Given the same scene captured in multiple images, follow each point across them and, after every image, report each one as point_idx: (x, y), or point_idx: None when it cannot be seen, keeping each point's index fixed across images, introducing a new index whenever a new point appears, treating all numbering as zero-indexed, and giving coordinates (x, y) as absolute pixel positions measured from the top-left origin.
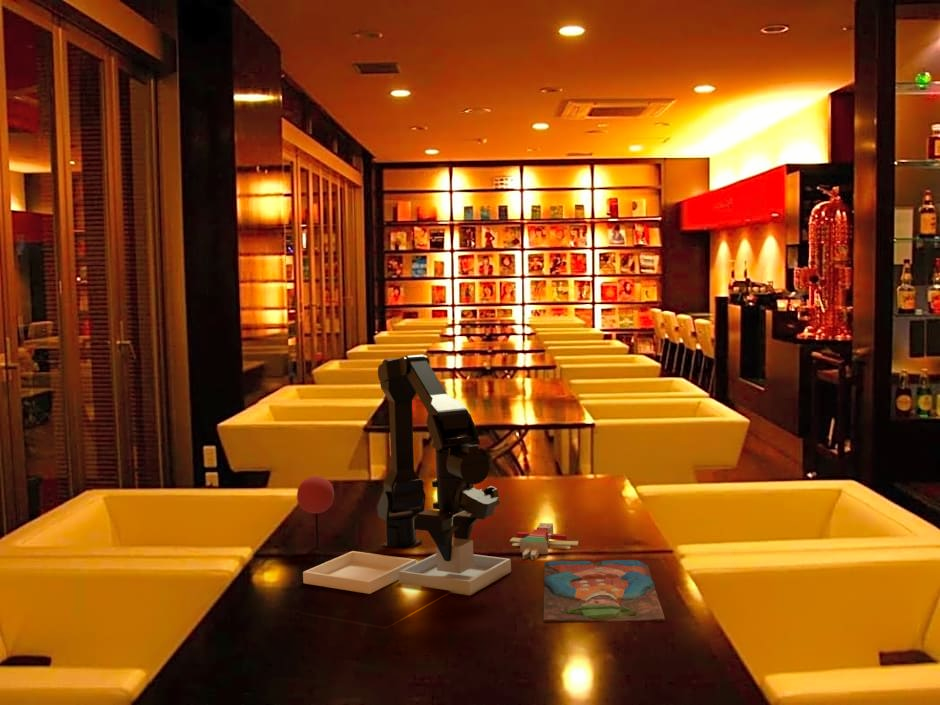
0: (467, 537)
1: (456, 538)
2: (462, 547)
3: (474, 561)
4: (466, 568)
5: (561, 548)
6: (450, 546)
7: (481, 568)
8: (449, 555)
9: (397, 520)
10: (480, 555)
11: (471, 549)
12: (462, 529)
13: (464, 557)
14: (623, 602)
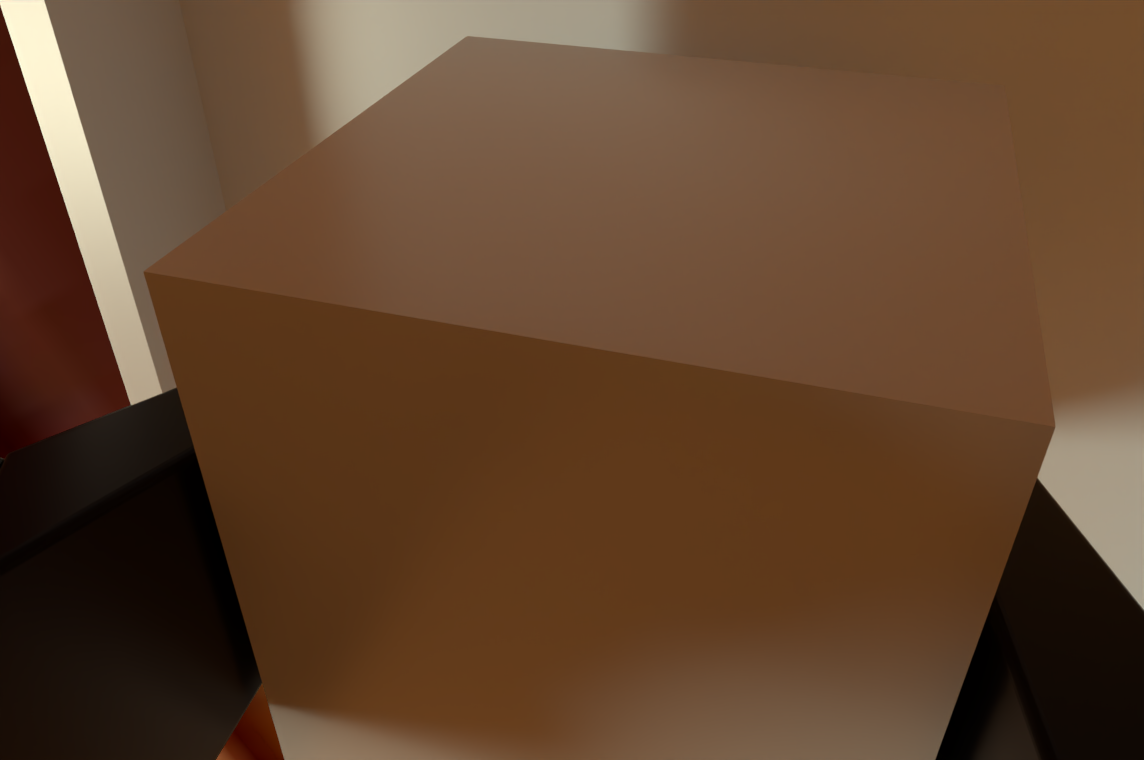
0: (118, 468)
1: (272, 661)
2: (809, 341)
3: (175, 189)
4: (734, 70)
5: None
6: (1117, 678)
7: (242, 16)
8: (1052, 506)
9: None
10: (55, 134)
11: (369, 176)
12: (15, 745)
13: (753, 178)
14: None
